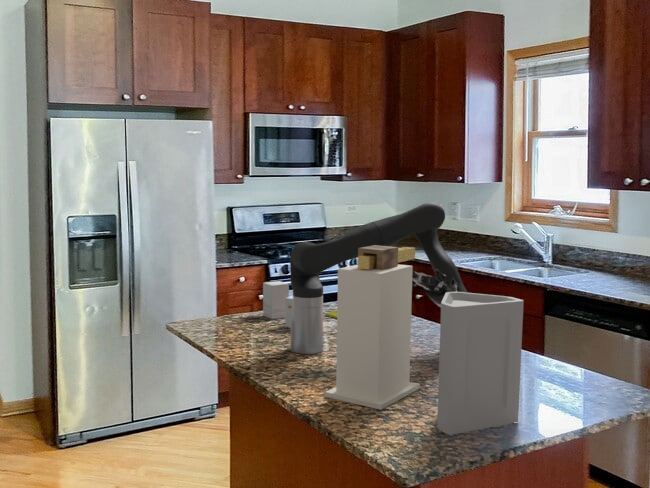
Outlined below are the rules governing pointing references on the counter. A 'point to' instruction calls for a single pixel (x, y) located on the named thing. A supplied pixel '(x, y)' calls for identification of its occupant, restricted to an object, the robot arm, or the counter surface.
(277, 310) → the supplement box
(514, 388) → the triangular grey vase
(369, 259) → the gold block
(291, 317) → the small box
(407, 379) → the mount
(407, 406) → the counter surface
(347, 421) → the counter surface
